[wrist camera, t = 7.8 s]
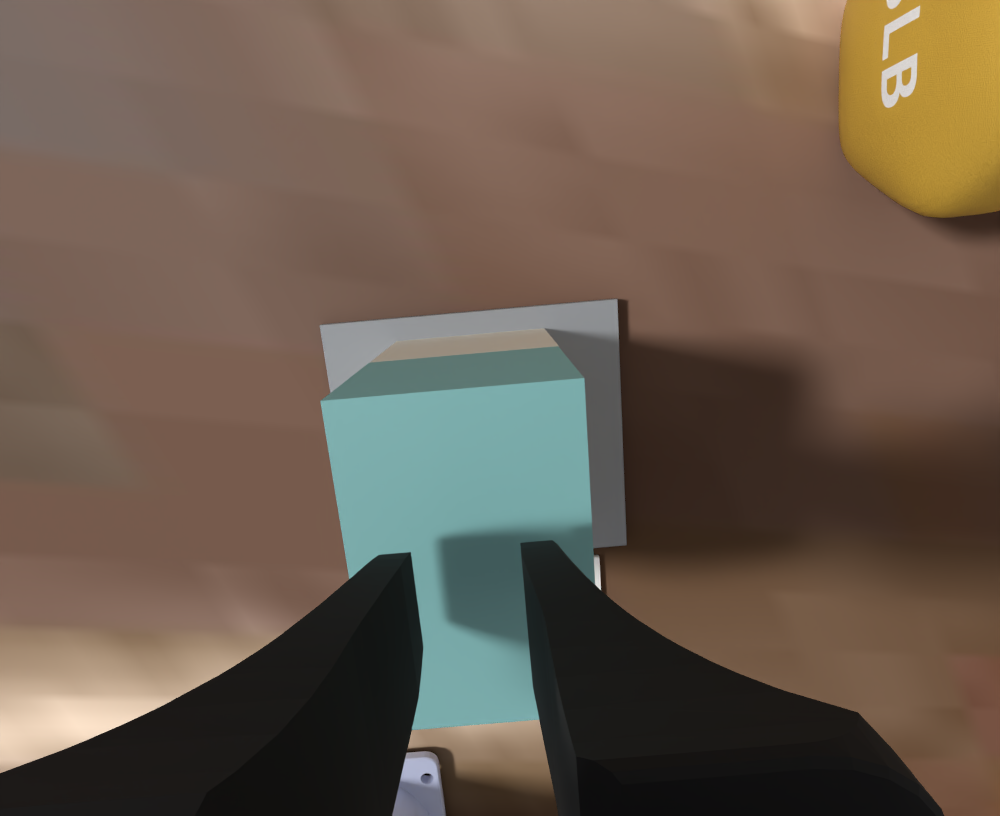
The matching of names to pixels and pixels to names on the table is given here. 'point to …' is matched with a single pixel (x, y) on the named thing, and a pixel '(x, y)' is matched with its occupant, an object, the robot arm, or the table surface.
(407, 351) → the brick cream
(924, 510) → the table surface
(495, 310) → the build board
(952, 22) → the dumbbell
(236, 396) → the table surface
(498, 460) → the brick teal
